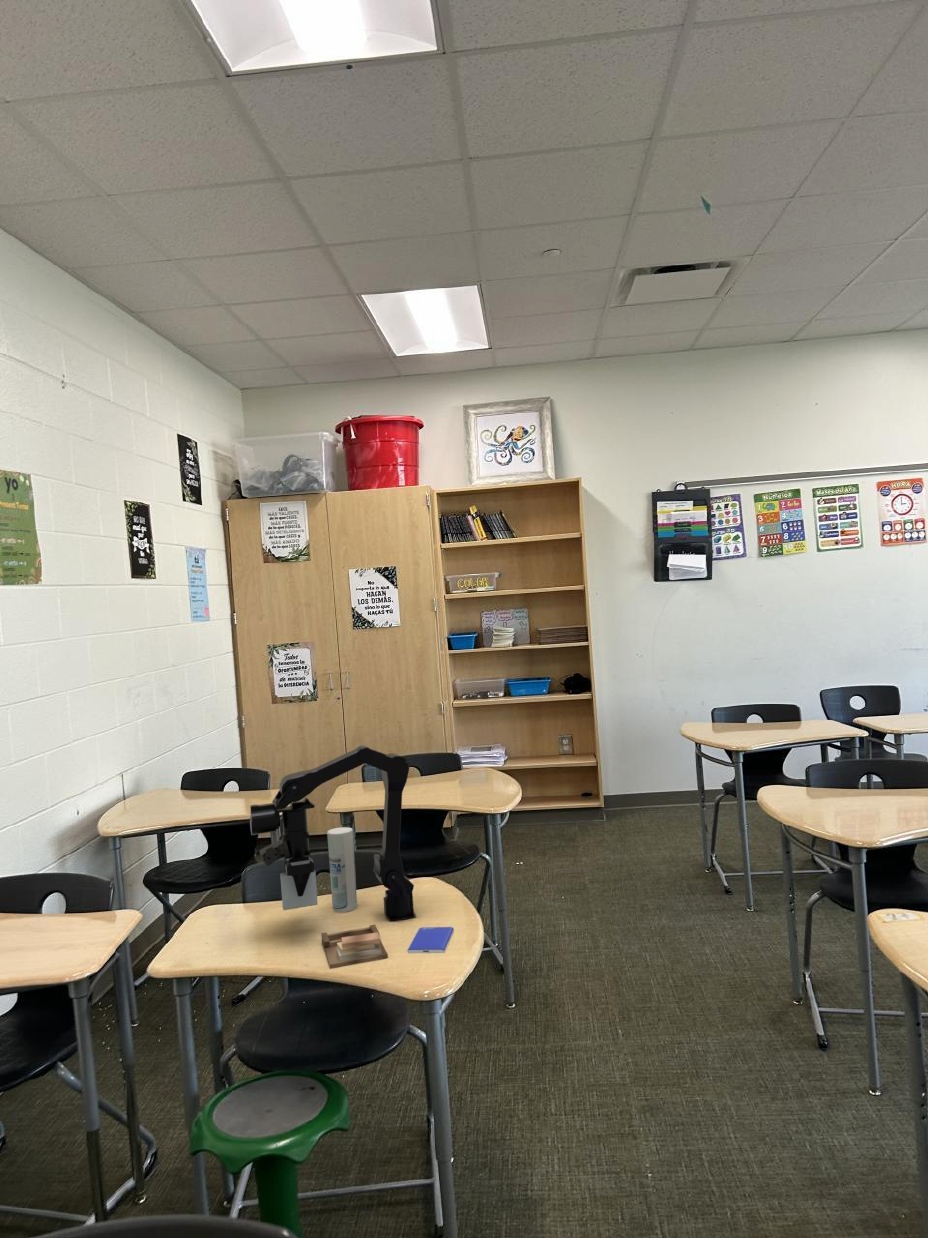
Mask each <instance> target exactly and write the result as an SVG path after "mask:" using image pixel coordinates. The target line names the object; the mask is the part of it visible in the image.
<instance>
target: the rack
mask: <svg viewBox="0 0 928 1238" xmlns="http://www.w3.org/2000/svg"><path fill="white" fill-rule="evenodd" d="M377 932H378V933H379V934H380V932H379V929H378V928H377V925H376V924H370V925H369V926H368V927H362V928H361V927H360V928H357V929H351V930H350V929H349V930H344V931H339V932H338V931H337V932H331V933H328V932H322V933H321V944H322V947H323V951H324V954H325V956H326V960H327V964H328V966H329V969H335V968H340V967H345V966H352V965H356V964H362V963H368V962H373V961H379V960H384V959H388V958H389V957H388V952H387V951H386V948H385V946H384V944H383V942H382V941H381V939H380V943H379V945H380V947H381V953H382V954H379V955H374V956H368V957H362V958H357V959H351V960H346V961H339V958H338V955H337V943H339V942H342V937H348V936H356V935H363V934H370V933H377ZM379 937H381V936H380V935H379Z"/></svg>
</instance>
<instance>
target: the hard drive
mask: <svg viewBox="0 0 928 1238" xmlns="http://www.w3.org/2000/svg"><path fill="white" fill-rule="evenodd" d="M454 932H455V929H454V927H453V926H439V927H438V926H436V927H435V926H428V927H427V926H426V927H419V928H418V930H417V932H416V933H415V936H414V937H413V939H412V940H411V943H410V945H409V947H408V948H407V954H445V952H446V951H447V948H448V945H449V944H450V941H451V939H452V937H453V934H454Z"/></svg>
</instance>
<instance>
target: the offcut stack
mask: <svg viewBox="0 0 928 1238" xmlns="http://www.w3.org/2000/svg"><path fill="white" fill-rule="evenodd" d="M379 936H380V932H379V933H378V932H377V933H370V934H363V935H356V936H348V937H342V942H339V943H337V955H338V958H339V961H346V960H351V959H357V958H362V957H368V956H374V955H379V954H382V953H381V947H380V945H379V943H380V940H381V938H380V937H381V936H380V937H379Z"/></svg>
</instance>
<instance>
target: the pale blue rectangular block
mask: <svg viewBox="0 0 928 1238" xmlns="http://www.w3.org/2000/svg"><path fill="white" fill-rule="evenodd" d="M280 887H281V888H280V889H281V890H280V891H281V901H282V903H281V905H282V910H283V911H287V910H295V909H300V908H306V907H312V906H317V905H318V903H319V902H318V891H317V877H316V871H315V872H312V873H311V874H310V876H309V879H308V882H307V885H306V888H305V891H304V894H303V896H300V897H299V896H298V894H297V890H296V886H295V883H294V879H293V877H292V876H287V873H286V872H282V873H280Z"/></svg>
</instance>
